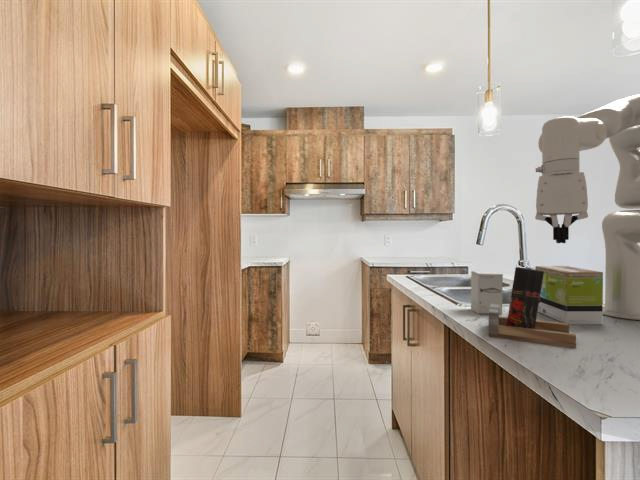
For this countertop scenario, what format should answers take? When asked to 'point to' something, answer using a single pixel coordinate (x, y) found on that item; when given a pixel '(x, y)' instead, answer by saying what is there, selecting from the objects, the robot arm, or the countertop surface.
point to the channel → (530, 331)
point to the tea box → (571, 294)
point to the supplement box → (486, 291)
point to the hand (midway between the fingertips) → (560, 242)
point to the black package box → (525, 298)
